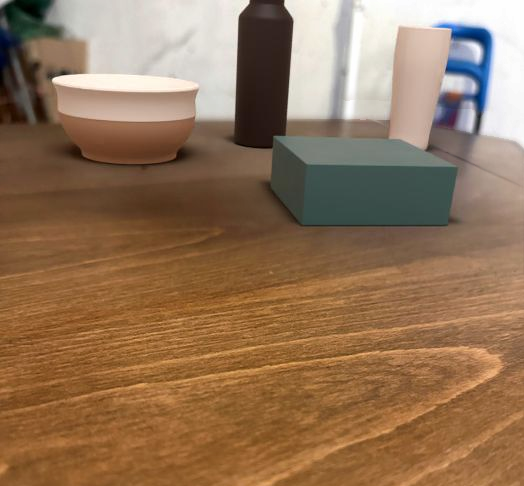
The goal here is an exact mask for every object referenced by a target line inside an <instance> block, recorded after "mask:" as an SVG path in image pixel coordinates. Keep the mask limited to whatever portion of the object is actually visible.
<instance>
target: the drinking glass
mask: <svg viewBox="0 0 524 486" xmlns="http://www.w3.org/2000/svg"><path fill="white" fill-rule="evenodd" d="M452 33H453V30H452V28H447V27H433V26H432V27H431V26H415V25H398V27H397V33H396V39H395V45H394V51H393V64H392V77H391V78H392V79H391V96H390V114H389V115H390V116H389V130H388V137H387V139H401V140H403V141H405V142H407V143H409V144H412V145H414V146H416V147H418V148H420V149H422V150H424V151H427V149H428V147H429V141H430V137H431V136H430V135H431V130H432V126H433V123H434V118H435V114H436V109H437V106H438V102H439V98H440V95H441V89H442V85H443V81H444V77H445V74H446V69H447V64H448V59H449V55H450V48H451V47H450V46H451V39H452Z"/></svg>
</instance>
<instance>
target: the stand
mask: <svg viewBox="0 0 524 486" xmlns="http://www.w3.org/2000/svg"><path fill="white" fill-rule="evenodd" d="M458 171H459V166H458V165H455V164H453V163H451V162H449V161H447V160H445V159H443V158H441V157H439V156H436V155H435V154H432V153H430V152H428V151H427V150H425V151H424V150H422V149H420V148H418V147H416V146H414V145H412V144H409V143H407V142H405V141H403V140H401V139H388V138H375V137H374V138H371V137H370V138H369V137H333V136H332V137H330V136H297V135H295V136H292V135H286V136H273V148H272V154H271V172H270V185H269V186H270V189H271V191H273V193H274V194H275V195H276V197H277V198H278V199H279V200H280V201H281V202H282V204H283V205H284V206H285V207H286V209H288V211H289V212H290V213H291V214H292V216H293V217H294V218H295V219H296V220H297V222H298V223H299V224H300V225H301V226H448V225H449V220H450V219H449V218H450V214H451V208H452V203H453V197H454V192H455V186H456V181H457V176H458Z"/></svg>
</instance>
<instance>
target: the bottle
mask: <svg viewBox="0 0 524 486" xmlns="http://www.w3.org/2000/svg"><path fill="white" fill-rule="evenodd" d="M285 1H286V0H249V1H248V4H247V5H246V6H245V8H244V9H242V11H241V12H240V13H239V15H238V19H237V21H238V22H237V42H236V43H237V44H236V45H237V46H236V47H237V48H236V71H235V73H236V75H235V97H234V98H235V101H234V124H233V125H234V126H233V127H234V128H233V129H234V130H233V140H234V142H235V144H238V145H241V146H245V147H248V148H249V147H250V148H259V149H261V148H262V149H268V148H269V149H271V148H272V149H273V136H287V122H288V108H289V95H290V94H289V93H290V79H291V66H292V65H291V64H292V51H293V37H294V23H295V21H294V17H293V16H292V15H291V13H290V12H289V10H288V9H287V8H286V5H285Z"/></svg>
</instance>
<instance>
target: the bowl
mask: <svg viewBox="0 0 524 486" xmlns="http://www.w3.org/2000/svg"><path fill="white" fill-rule="evenodd" d="M51 83H52V85H53V87H54V89H55V92H56V95H57V111H58V116H59V120H60V124H61V126H62V128H63V129H64V131H65V133H66V135H67V136H68V137H69V139H70V140H71V141H72V142H73V143H74V144H75V145H76V146H77V147H78V148H79V149H80V151H81V156H82V157H84V158H86V159H89V160H91V161H95V162H100V163H108V164H117V165H119V164H120V165H147V164H148V165H151V164H159V163H165V162H169V161H172V160H174V159H175V158H177V153H178V151H179V150H180V149H181V148H182V147H183V146H184V145H185V143H186V142H187V141H188V140H189V138H190V136H191V134H192V132H193V130H194V128H195V123H196V117H197V107H196V99H197V95H198V92H199V91H200V88H201V87H200V84H199V83H197V82H195V81H191V80H188V79H183V78H182V79H181V78H176V77H175V78H174V77H167V76H156V75H144V74H143V75H142V74H126V73H125V74H124V73H123V74H122V73H79V74H77V73H76V74H66V75H59V76H55V77H53V78H52V80H51Z"/></svg>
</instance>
